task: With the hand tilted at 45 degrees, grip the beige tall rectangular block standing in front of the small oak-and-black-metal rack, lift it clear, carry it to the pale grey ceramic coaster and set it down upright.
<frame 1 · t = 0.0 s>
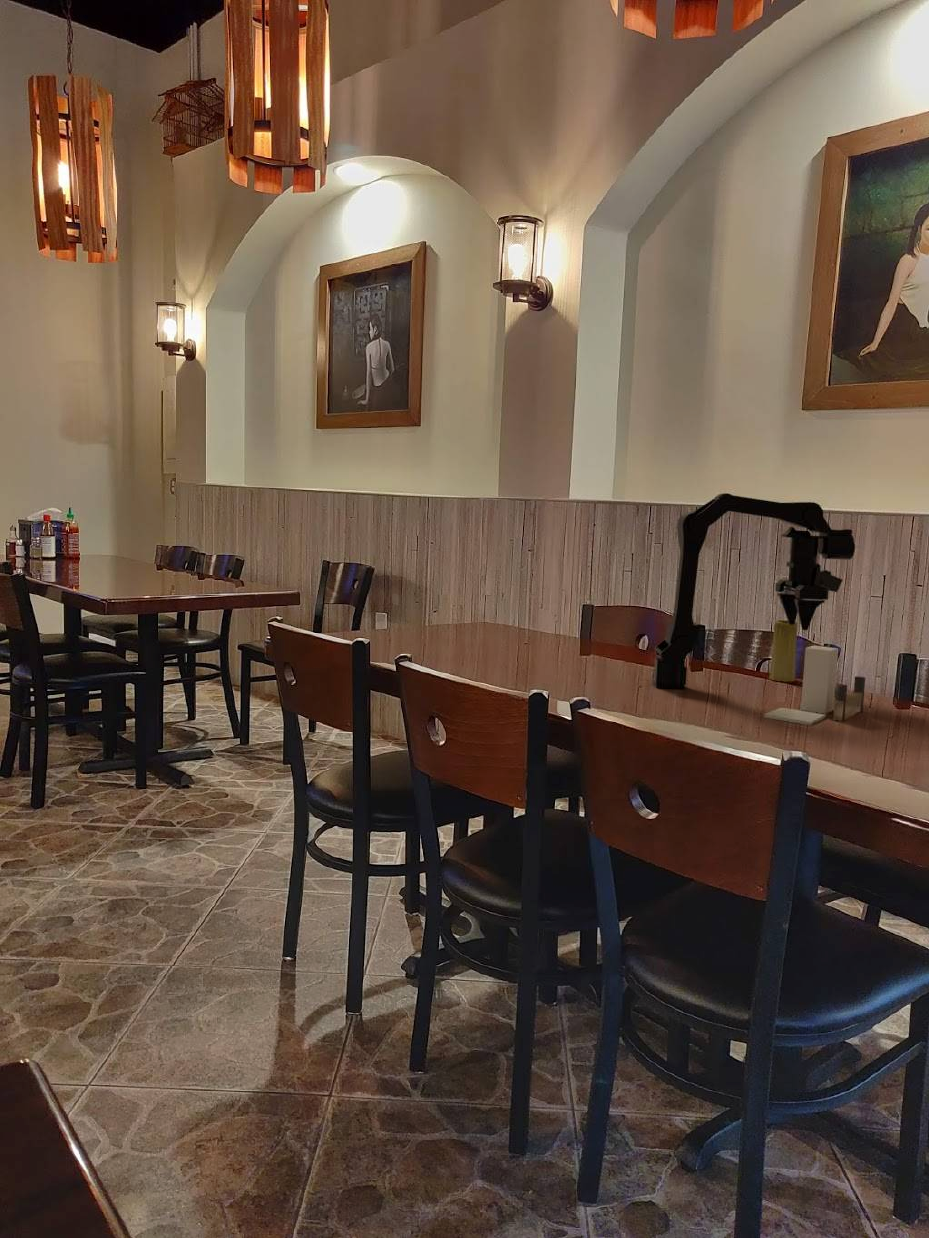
hand: (798, 627, 211), 15 cm above the table, tool pointing down, fingers open, 9 cm apart
coaster: (795, 717, 185), on the table
vase: (781, 680, 227), on the table
beige tall rectangular block: (817, 710, 193), on the table
rack: (848, 715, 189), on the table
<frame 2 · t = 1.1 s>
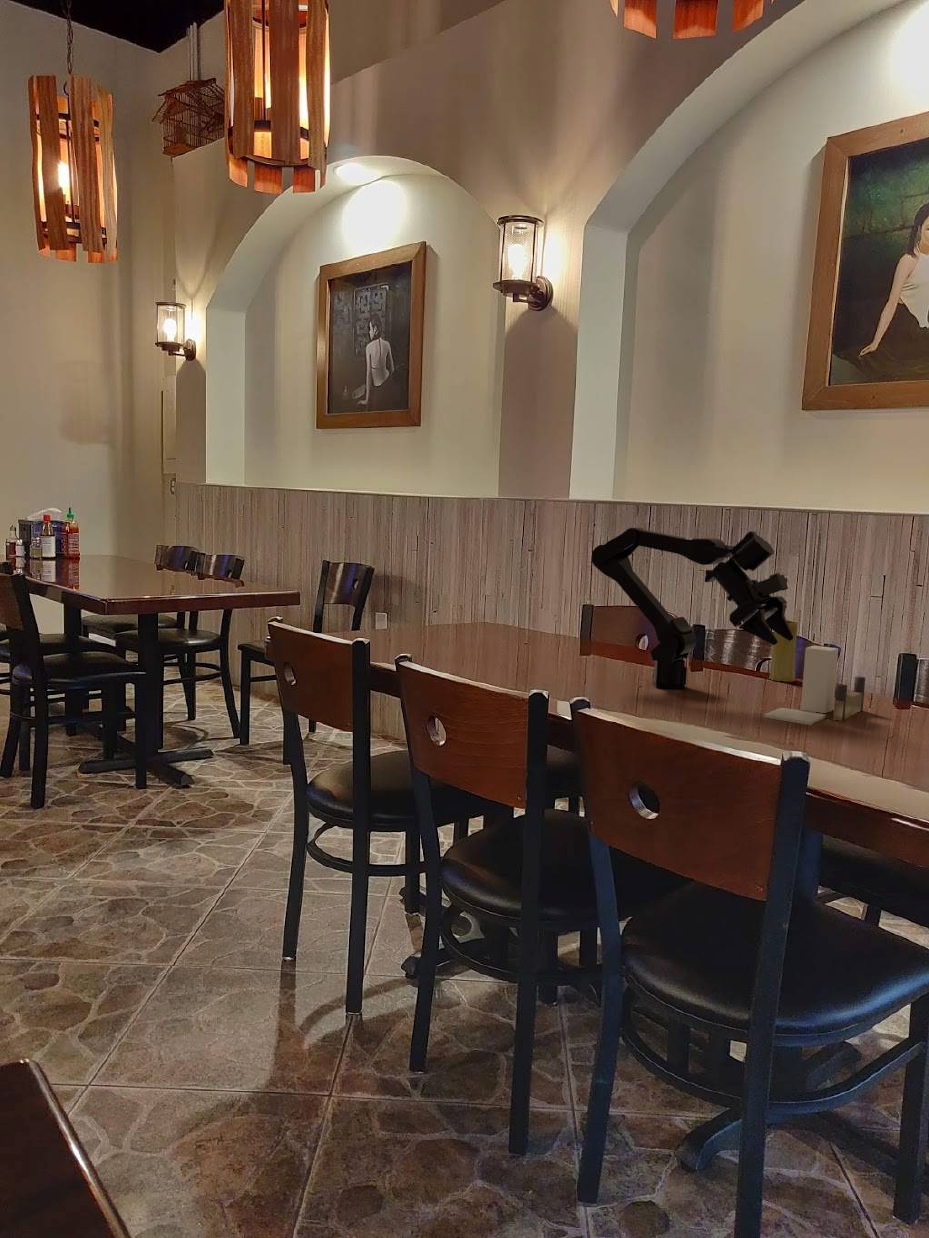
hand: (784, 641, 196), 13 cm above the table, tool tilted 45°, fingers open, 9 cm apart
nothing on the table moved.
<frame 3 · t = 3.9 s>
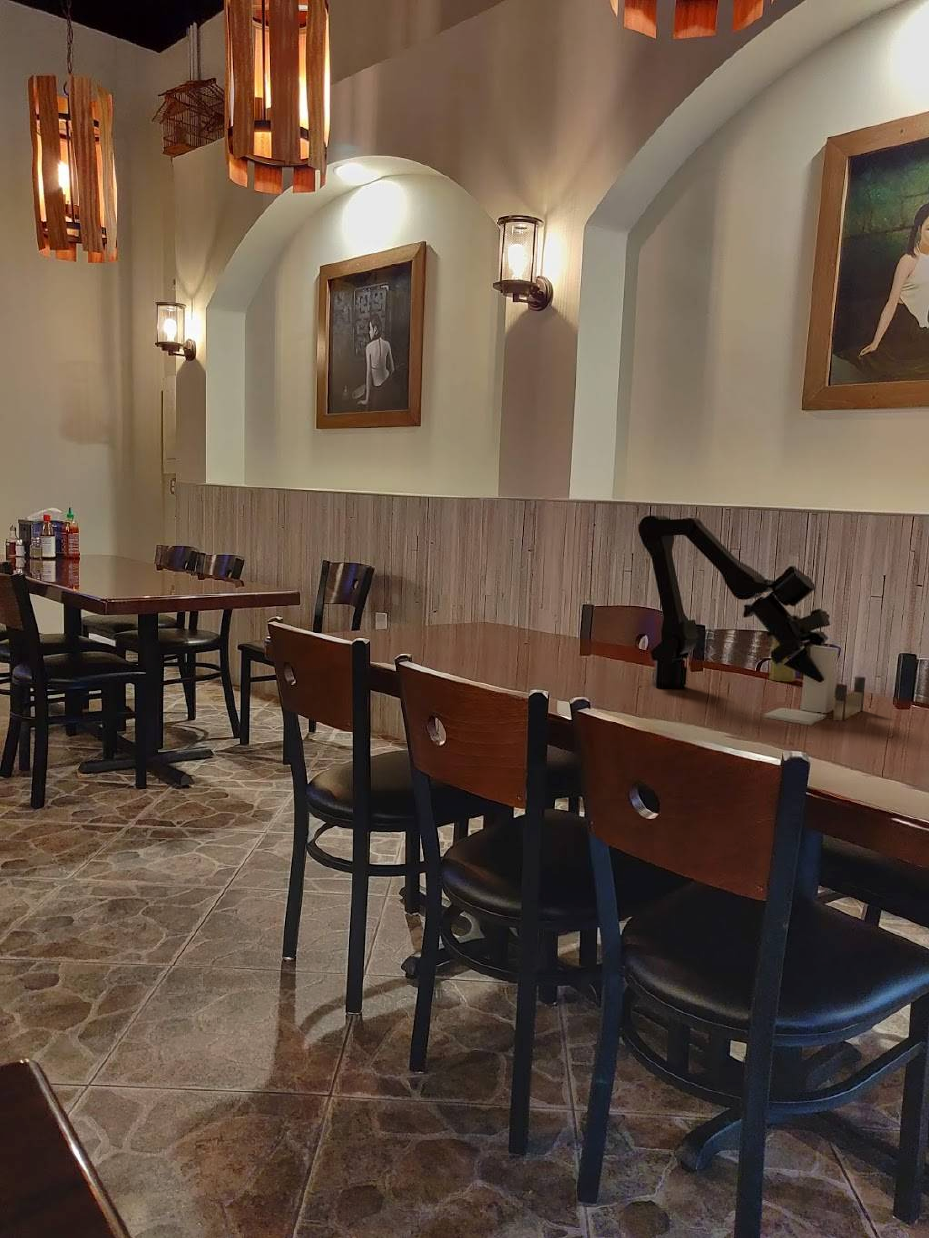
hand: (826, 679, 191), 7 cm above the table, tool tilted 45°, fingers closed on beige tall rectangular block, 5 cm apart
beige tall rectangular block: (817, 710, 193), on the table, touching gripper
everything else where it was.
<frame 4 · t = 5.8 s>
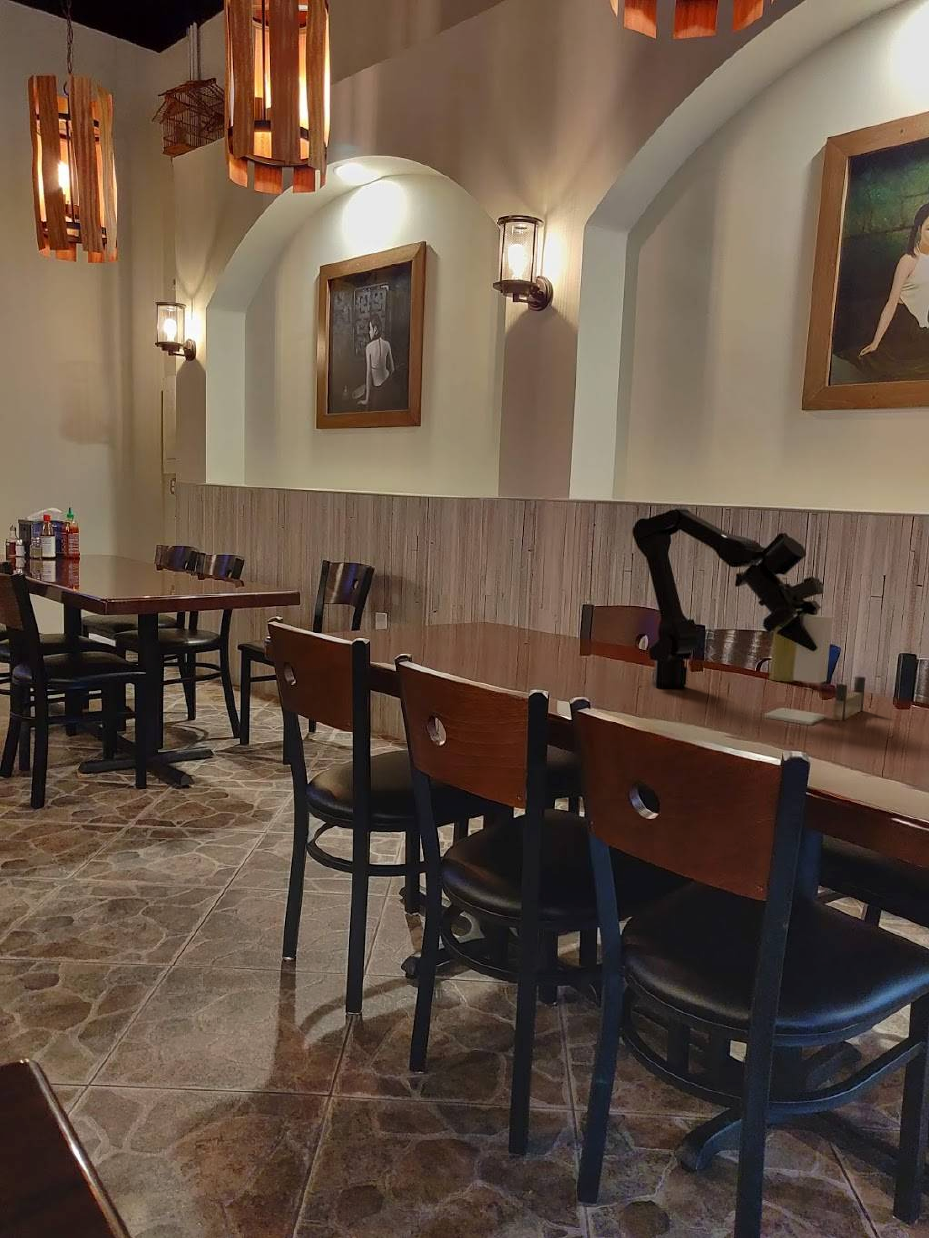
hand: (819, 648, 187), 14 cm above the table, tool tilted 45°, fingers closed on beige tall rectangular block, 5 cm apart
beige tall rectangular block: (809, 680, 189), point 7 cm above the table, touching gripper
everything else where it was.
when the fingers open (8 cm above the table, at t = 8.1 s): beige tall rectangular block stays where it is, resting on coaster.
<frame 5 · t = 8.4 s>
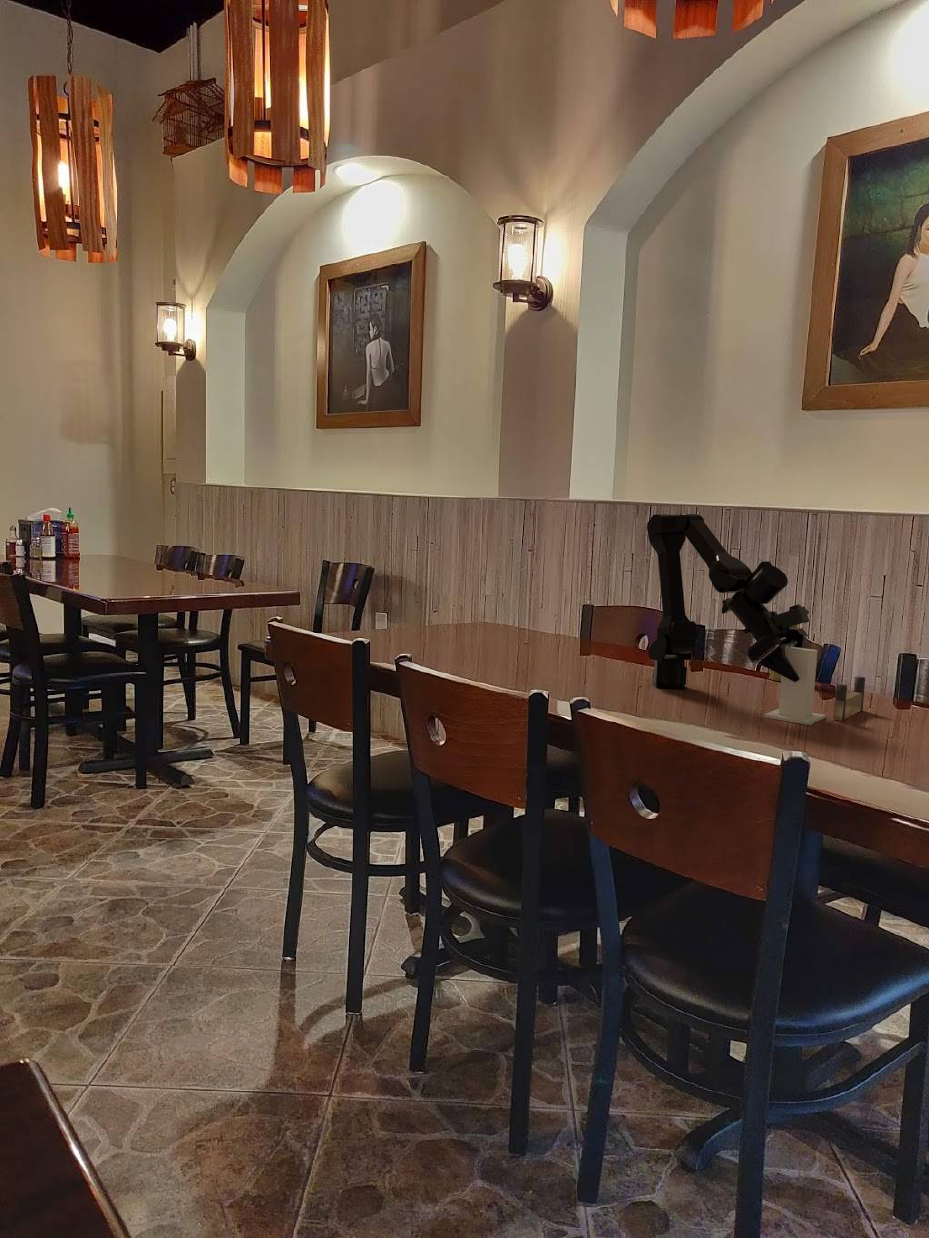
hand: (805, 678, 183), 8 cm above the table, tool tilted 45°, fingers open, 8 cm apart
beige tall rectangular block: (795, 714, 185), point 1 cm above the table, touching coaster
everything else where it was.
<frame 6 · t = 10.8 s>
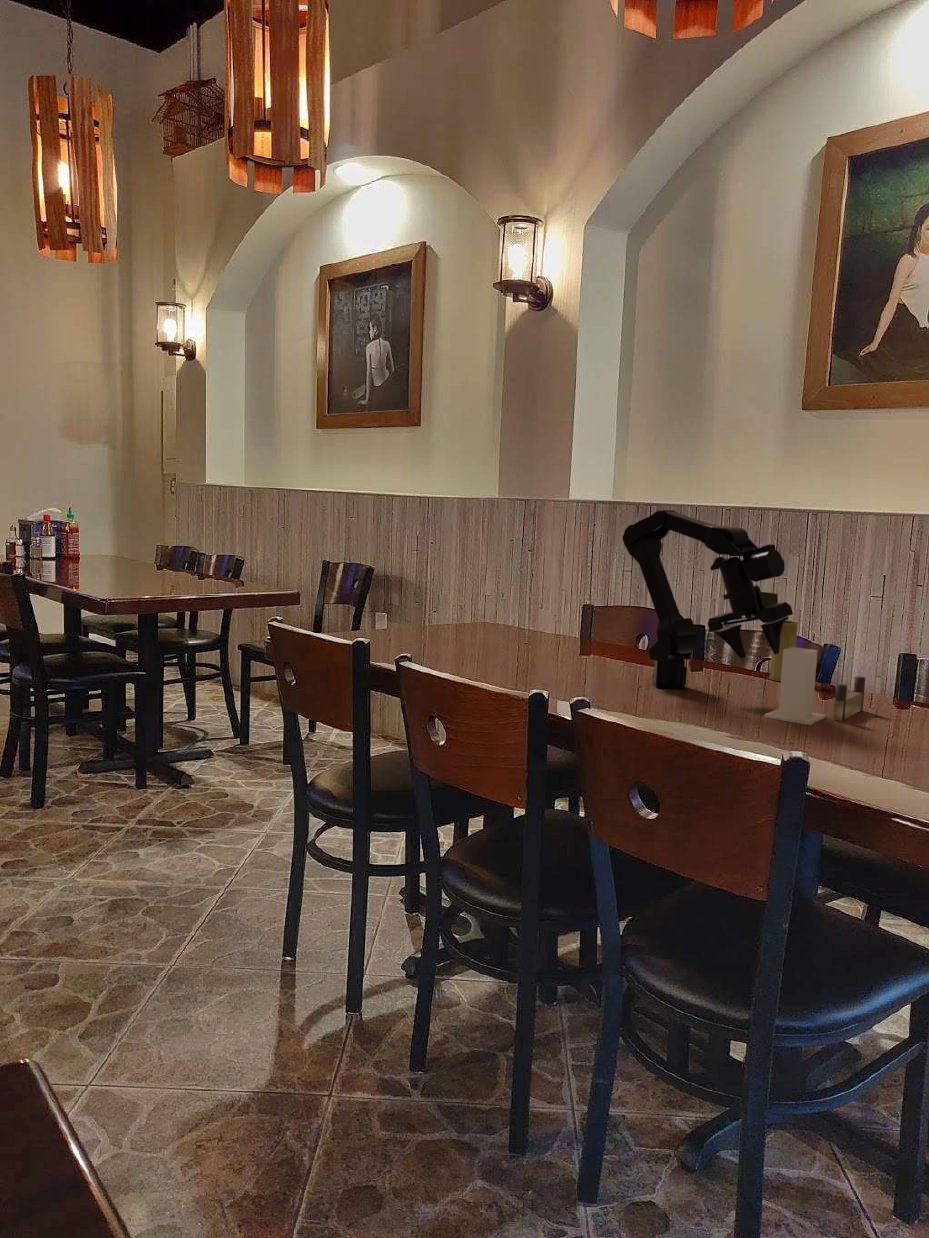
hand: (759, 656, 198), 10 cm above the table, tool tilted 20°, fingers open, 9 cm apart
nothing on the table moved.
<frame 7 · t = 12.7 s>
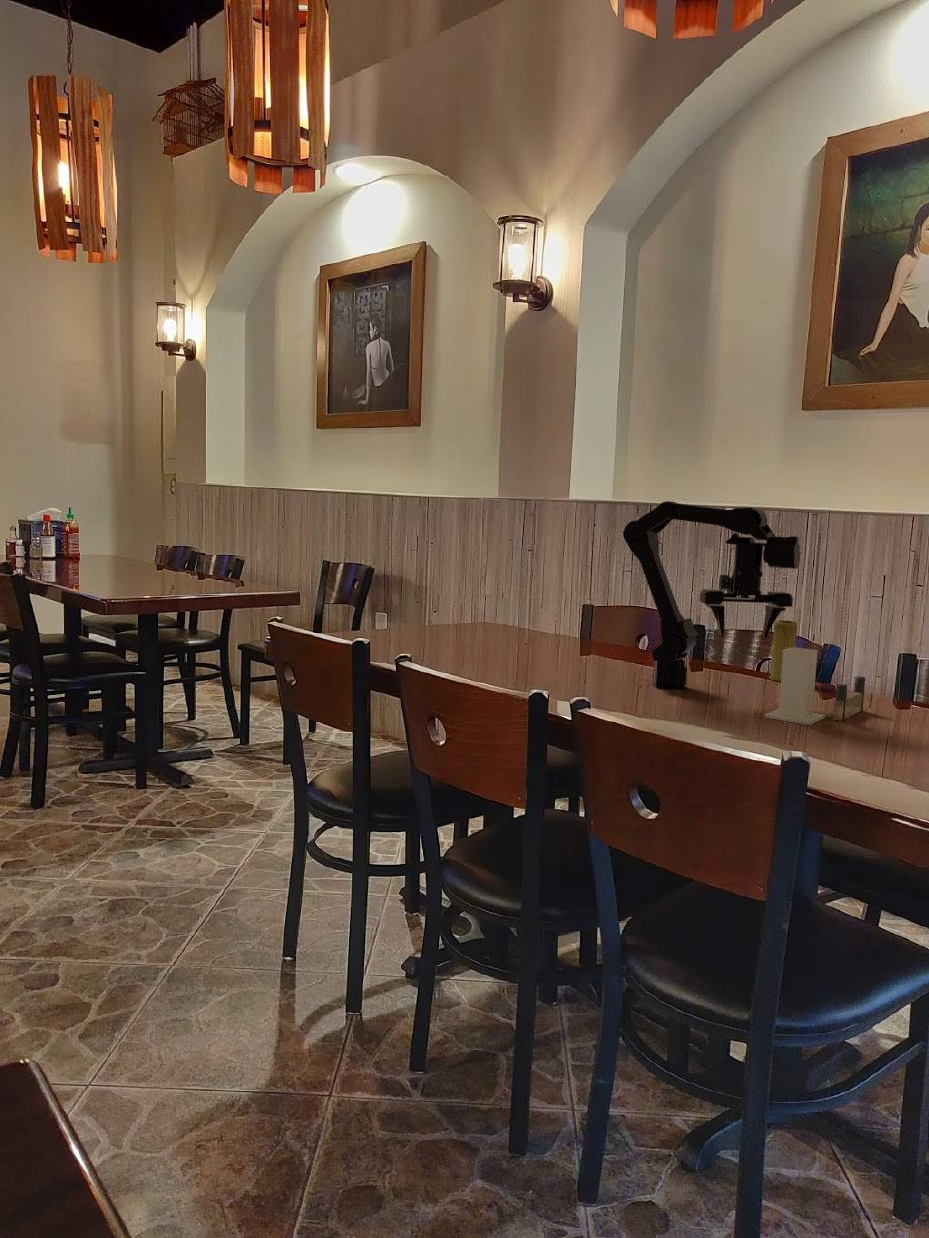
hand: (743, 637, 204), 13 cm above the table, tool pointing down, fingers open, 9 cm apart
nothing on the table moved.
at the end: beige tall rectangular block 0.1 cm from the coaster (horizontally); beige tall rectangular block tilted 0°; beige tall rectangular block touching coaster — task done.
